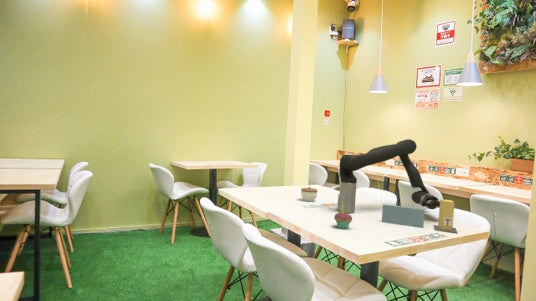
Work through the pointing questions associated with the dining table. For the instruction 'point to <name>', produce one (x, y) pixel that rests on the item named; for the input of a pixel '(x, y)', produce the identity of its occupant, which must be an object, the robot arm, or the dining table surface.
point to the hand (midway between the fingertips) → (439, 206)
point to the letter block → (446, 214)
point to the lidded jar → (309, 194)
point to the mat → (445, 230)
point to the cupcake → (343, 219)
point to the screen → (403, 215)
